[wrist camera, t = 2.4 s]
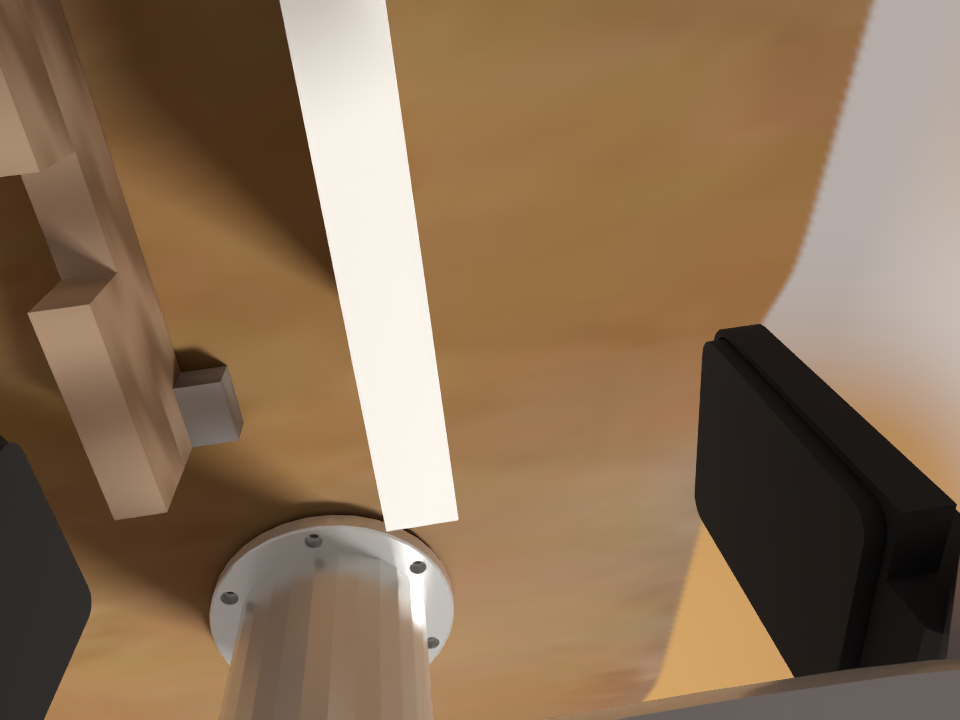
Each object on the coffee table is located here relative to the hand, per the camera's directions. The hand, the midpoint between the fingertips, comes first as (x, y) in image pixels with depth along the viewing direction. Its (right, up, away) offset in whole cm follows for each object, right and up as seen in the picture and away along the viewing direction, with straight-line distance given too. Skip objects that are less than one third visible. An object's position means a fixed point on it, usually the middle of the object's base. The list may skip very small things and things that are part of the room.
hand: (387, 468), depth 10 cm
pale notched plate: (-3, +9, +19) cm, 22 cm away
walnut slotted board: (-14, +8, +18) cm, 24 cm away
